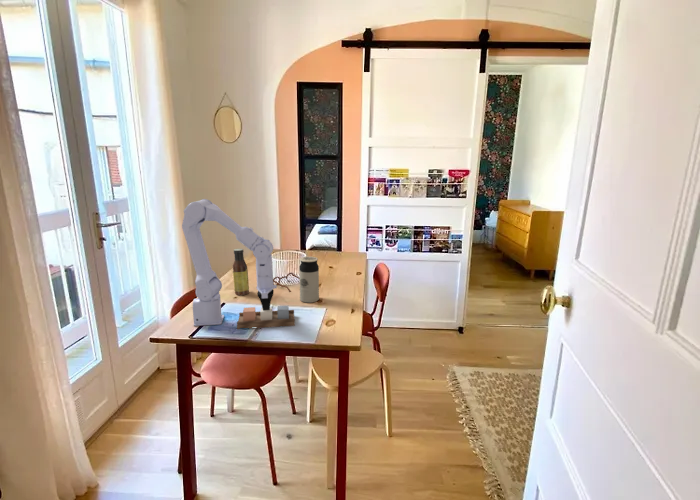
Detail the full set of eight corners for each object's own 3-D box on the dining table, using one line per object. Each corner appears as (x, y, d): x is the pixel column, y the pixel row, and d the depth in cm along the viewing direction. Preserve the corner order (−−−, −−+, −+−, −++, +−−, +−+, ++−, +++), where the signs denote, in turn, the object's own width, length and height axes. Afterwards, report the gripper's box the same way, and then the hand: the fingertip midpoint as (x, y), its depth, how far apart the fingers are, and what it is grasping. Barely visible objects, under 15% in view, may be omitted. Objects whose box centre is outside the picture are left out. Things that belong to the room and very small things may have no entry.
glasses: (292, 281, 192) (292, 271, 191) (311, 286, 184) (311, 276, 183) (271, 287, 182) (271, 277, 181) (290, 294, 174) (290, 283, 173)
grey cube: (277, 319, 141) (277, 310, 141) (277, 314, 145) (277, 306, 144) (288, 318, 142) (288, 309, 141) (288, 314, 146) (288, 305, 145)
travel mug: (310, 295, 171) (310, 255, 167) (322, 299, 166) (322, 258, 162) (296, 299, 166) (295, 258, 162) (307, 304, 161) (307, 262, 156)
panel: (237, 329, 137) (236, 322, 136) (239, 318, 146) (239, 312, 145) (294, 325, 140) (294, 319, 140) (294, 315, 149) (293, 309, 148)
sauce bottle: (251, 293, 173) (249, 249, 168) (239, 296, 168) (236, 252, 164) (243, 289, 177) (241, 247, 172) (231, 293, 173) (228, 249, 168)
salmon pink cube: (243, 321, 139) (242, 311, 139) (244, 316, 143) (244, 307, 142) (255, 320, 140) (254, 311, 139) (255, 316, 144) (255, 307, 143)
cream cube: (260, 321, 140) (260, 311, 140) (261, 316, 144) (260, 307, 143) (272, 320, 141) (271, 311, 140) (272, 316, 145) (272, 307, 144)
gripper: (275, 280, 132) (277, 317, 136) (276, 268, 146) (277, 302, 150) (254, 281, 131) (256, 318, 134) (257, 269, 145) (258, 303, 148)
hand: (266, 310), depth 142 cm, fingers closed, pressing on cream cube
